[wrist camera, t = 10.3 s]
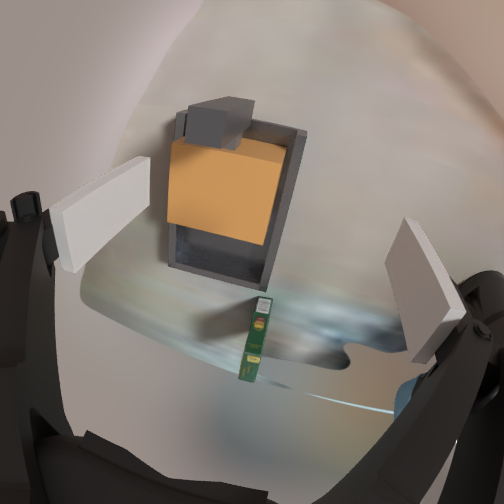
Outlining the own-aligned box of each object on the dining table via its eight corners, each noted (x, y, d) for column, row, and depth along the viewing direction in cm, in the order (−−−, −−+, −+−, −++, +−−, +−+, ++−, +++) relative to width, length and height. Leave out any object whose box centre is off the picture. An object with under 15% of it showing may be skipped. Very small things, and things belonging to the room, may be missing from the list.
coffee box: (257, 293, 51) (242, 352, 40) (274, 297, 51) (262, 357, 40) (251, 323, 55) (236, 380, 45) (266, 327, 55) (254, 384, 44)
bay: (188, 109, 36) (176, 112, 32) (307, 131, 35) (306, 136, 31) (177, 252, 49) (168, 266, 46) (269, 276, 48) (265, 292, 45)
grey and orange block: (202, 90, 33) (137, 101, 20) (296, 106, 32) (288, 123, 19) (190, 196, 42) (137, 257, 29) (271, 215, 41) (250, 288, 28)
